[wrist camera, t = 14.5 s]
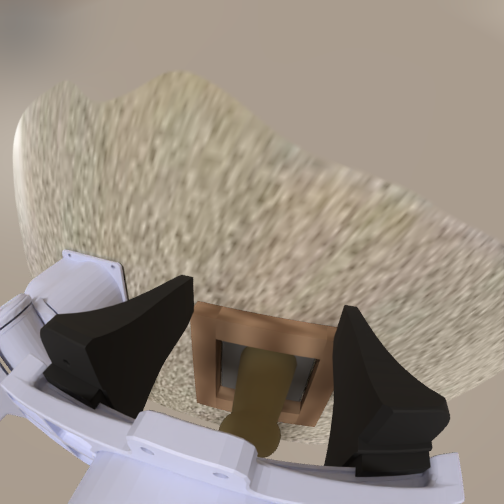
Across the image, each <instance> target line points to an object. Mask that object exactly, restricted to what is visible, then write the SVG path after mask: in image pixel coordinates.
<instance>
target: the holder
mask: <svg viewBox="0 0 504 504" xmlns="http://www.w3.org/2000/svg"><path fill="white" fill-rule="evenodd" d="M190 322H191V338H192V352H193V365H194V376H195V387H196V397H197V403H200V404H203V405H207V406H210V407H214V408H218V409H222V410H226V411H230V412H232V406H233V400H234V394H235V387H236V381H237V375H238V369H239V363H240V357H241V353H242V351H243V350H244V348H246V347H247V346H249V347H254V348H259V349H264V350H269V351H274V352H279V353H285V354H291V355H294V356H295V357H296V361H297V367H296V370H295V373H294V376H293V379H292V382H291V385H290V388H289V391H288V394H287V397H286V400H285V402H284V405H283V408H282V411H281V414H280V416H279V419H278V422H283V423H290V424H296V425H304V426H311V427H315V425H316V423H317V421H318V420H319V418H320V416H321V414H322V412H323V410H324V408H325V406H326V404H327V402H328V400H329V398H330V396H331V394H332V392H333V390H334V384H333V362H332V353H333V340H334V336H335V333H336V330H337V327H331V326H325V325H318V324H312V323H306V322H300V321H295V320H289V319H283V318H278V317H272V316H267V315H262V314H257V313H252V312H247V311H242V310H237V309H232V308H227V307H223V306H218V305H213V304H209V303H204V302H200V301H198V302H197V303H196V305H195V306H194V312H193V315H192V317H191V319H190ZM221 340H222V341H223V350H222V386H221ZM315 359H316V362H315V365H314V367H313V370H312V373H311V376H310V379H309V381H308V384H307V387H306V389H305V392H304V395H303V397H302V400H301V402H300V399H301V396H302V394H303V391H304V388H305V385H306V383H307V380H308V377H309V374H310V372H311V369H312V366H313V363H314V360H315Z"/></svg>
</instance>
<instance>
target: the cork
mask: <svg viewBox="0 0 504 504" xmlns="http://www.w3.org/2000/svg"><path fill="white" fill-rule="evenodd" d="M296 367H297V361H296V357H295V356H294V355H291V354H285V353H279V352H274V351H269V350H264V349H259V348H254V347H249V346H247V347H246V348H244V350H243V351H242V353H241V357H240V363H239V369H238V375H237V381H236V387H235V394H234V400H233V406H232V412H231V414H229V415H228V416H227V417H226V418H225V419H224V420H223V422H222V423H221V425H220V427H219V431H222V432H226V433H230V434H233V435H236V436H238V437H241V438H244V439H245V440H247V441H248V442H250V443H251V444H253V445H254V446H255V448H256V450H257V453H258V455H257V457H260V458H264V457H268V456H270V455H271V454H272V453H273V452H274V451H276V449H277V447H278V445H279V442H280V437H281V435H280V429H279V426H278V425H277V422H278V419H279V416H280V414H281V411H282V408H283V405H284V402H285V400H286V397H287V394H288V391H289V388H290V385H291V382H292V379H293V376H294V373H295V370H296Z"/></svg>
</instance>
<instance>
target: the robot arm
mask: <svg viewBox="0 0 504 504" xmlns="http://www.w3.org/2000/svg"><path fill="white" fill-rule="evenodd" d="M62 255H63V258H62V259H61V260H59V261H58V262H57V263H55V264H54V265H52V266H51V267H49V268H48V269H46V270H45V271H44V272H42V273H41V274H39V275H38V276H36V277H35V278H34V279H33V280H32V281H31V282H30V283H29V284H28V286H27V288H26V290H25V293H24V294H23V293H21V294H19V295H17V296H15V297H14V298H12V299H11V300H9V301H8V302H7V303H5V304H4V305H3V306H1V307H0V356H1V358H2V359H3V361H4V362H5V363H6V365H7V366H8V367H9V369H10V370H11V373H10V374H8V372H7V371H6V370H5V368H4V367H3V366H2V364H1V363H0V421H1V420H2V419H3V418H4V417H5V416H6V415H7V414H11V415H15V416H19V417H23V418H27V419H28V420H29V421H31V422H32V423H33V424H34V425H35V426H37V427H38V428H39V429H40V430H41V431H43V432H44V433H45V434H46V435H48V436H49V437H50V438H52V439H53V440H54V441H55V442H57V443H58V444H59V445H61V446H62V447H63V448H65V449H66V450H67V451H69V452H70V453H72V454H73V455H75V456H76V457H77V458H79V459H80V460H82V461H84V462H85V463H86V464H88V465H89V466H90V467H89V468H88V470H87V472H86V474H85V475H84V477H83V478H82V480H81V482H80V483H79V485H78V487H77V488H76V490H75V492H74V494H73V495H72V497H71V499H70V500H69V502H68V504H461V503H463V502H464V500H465V498H464V489H463V481H462V474H461V467H460V461H459V456H458V452H453V453H447V454H440V455H435V456H433V457H431V458H430V457H429V451H431V450H432V442H431V441H432V440H433V439H434V438H435V437H437V435H439V434H440V433H441V431H443V430H444V428H445V427H446V426H447V425H448V423H449V420H450V414H449V410H448V406H447V402H446V399H445V397H443V396H441V395H440V394H438V393H436V392H435V391H433V390H431V389H430V388H428V387H427V386H425V385H424V384H423V383H421V382H420V381H418V380H417V379H416V378H415V377H413V376H412V375H411V374H410V373H409V372H408V371H407V370H405V369H404V368H403V367H402V366H401V365H400V364H399V363H398V362H397V361H396V360H395V359H394V358H393V356H392V355H391V354H390V353H389V352H388V351H387V350H386V348H385V347H384V346H383V345H382V343H381V342H380V341H379V339H378V338H377V337H376V335H375V334H374V332H373V331H372V329H371V328H370V326H369V325H368V323H367V322H366V320H365V318H364V317H363V315H362V314H361V312H360V311H359V309H358V308H357V307H354V306H348V305H344V308H343V312H342V315H341V318H340V321H339V324H338V327H337V330H336V333H335V336H334V340H333V353H332V362H333V384H334V405H333V415H332V423H331V430H330V437H329V443H328V450H327V454H326V459H325V464H324V466H318V465H308V464H299V463H291V462H284V461H277V460H272V459H266V458H260V457H257V455H258V453H257V450H256V448H255V446H254V445H253V444H251V443H250V442H248V441H247V440H245V439H244V438H241V437H238V436H236V435H233V434H230V433H226V432H222V431H219V430H215V429H211V428H208V427H204V426H200V425H197V424H194V423H191V422H188V421H184V420H181V419H178V418H175V417H172V416H170V415H167V414H164V413H161V412H156V411H152V410H147V411H143V409H144V407H145V404H146V402H147V399H148V396H149V394H150V392H151V389H152V387H153V385H154V383H155V380H156V378H157V376H158V374H159V372H160V370H161V368H162V366H163V364H164V362H165V360H166V359H167V357H168V356H169V354H170V353H171V351H172V349H173V348H174V346H175V345H176V343H177V342H178V340H179V339H180V337H181V336H182V334H183V332H184V331H185V329H186V328H187V326H188V324H189V321H190V319H191V317H192V315H193V312H194V293H193V277H190V276H185V275H180V276H178V277H176V278H174V279H172V280H170V281H168V282H166V283H164V284H162V285H160V286H158V287H156V288H154V289H152V290H150V291H148V292H146V293H144V294H141V295H139V296H137V297H135V298H132V299H130V300H127V294H126V289H125V283H124V276H123V270H122V266H121V264H120V263H117V262H113V261H109V260H105V259H101V258H97V257H93V256H89V255H85V254H82V253H78V252H74V251H70V250H66V249H65V250H63V251H62Z"/></svg>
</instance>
